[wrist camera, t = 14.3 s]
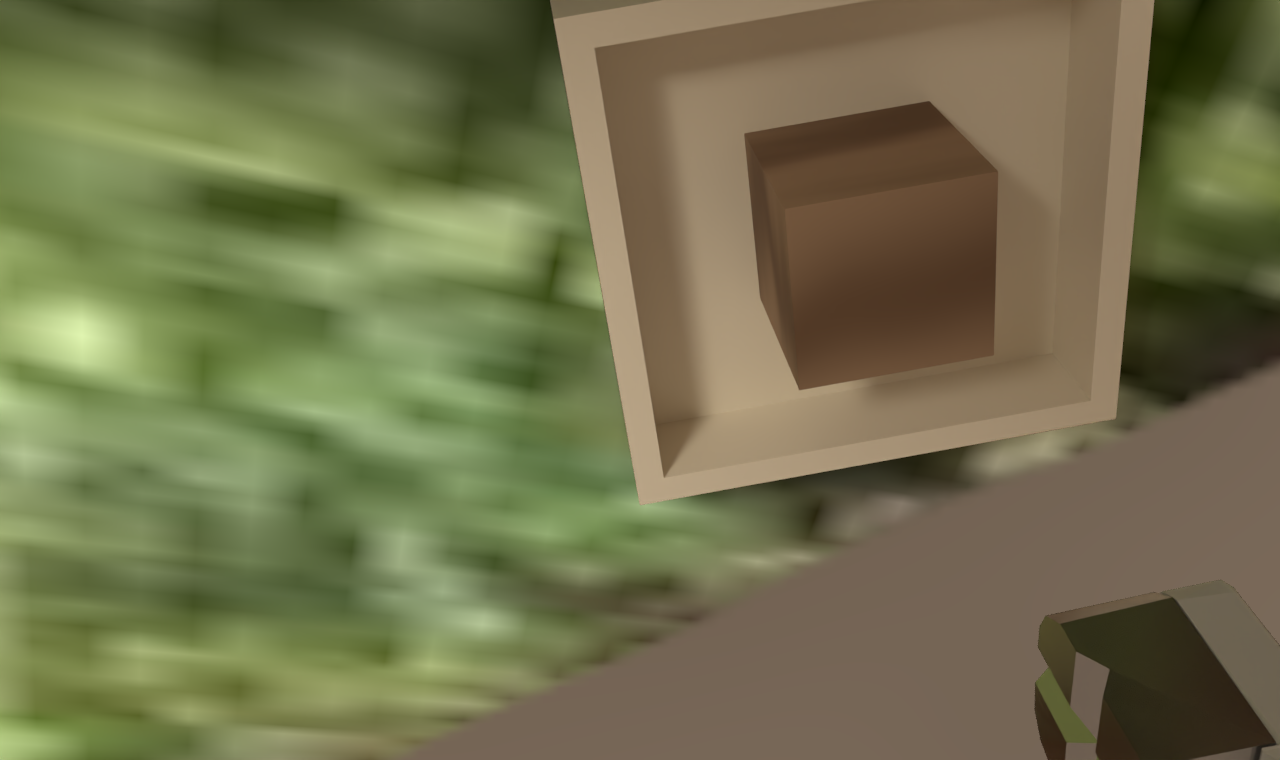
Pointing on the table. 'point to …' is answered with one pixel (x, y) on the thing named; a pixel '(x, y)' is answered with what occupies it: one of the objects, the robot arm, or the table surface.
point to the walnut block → (874, 243)
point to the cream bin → (724, 237)
